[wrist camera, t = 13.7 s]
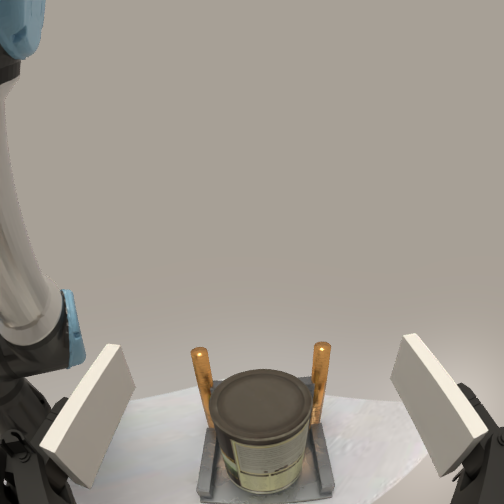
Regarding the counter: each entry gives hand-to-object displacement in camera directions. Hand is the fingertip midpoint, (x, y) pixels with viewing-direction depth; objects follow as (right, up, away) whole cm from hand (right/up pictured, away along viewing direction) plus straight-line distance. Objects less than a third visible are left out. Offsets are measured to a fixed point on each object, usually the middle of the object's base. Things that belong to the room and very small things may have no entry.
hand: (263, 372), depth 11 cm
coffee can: (+1, -23, +17) cm, 29 cm away
